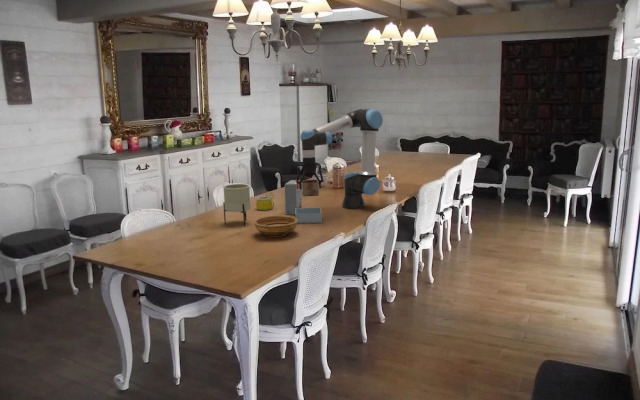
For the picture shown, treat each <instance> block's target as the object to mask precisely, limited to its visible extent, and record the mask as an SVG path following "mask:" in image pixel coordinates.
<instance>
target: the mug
mask: <svg viewBox="0 0 640 400" xmlns="http://www.w3.org/2000/svg"><path fill="white" fill-rule="evenodd" d="M274 197H275V195H274V193H273V192H272V191H268V192H267V193H266V196H264V195H263V196H258V197H257V198H256V202H255V203H256V204H255V206H256V209H257V210H258V211H268V210H271V209H273V208H275V202H274V200H273V198H274Z"/></svg>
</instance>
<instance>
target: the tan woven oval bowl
mask: <svg viewBox="0 0 640 400" xmlns="http://www.w3.org/2000/svg"><path fill="white" fill-rule="evenodd" d="M297 221H298V219H297V218H295V217H294V216H289V215H268V216H263V217H259V218H256V219H255V220H254V221H253V224H254V226H255V229H256V230H257V231H258V232H260V233H262V234H264V235H266V236H267V237H270V238H281V237H284V236H286V235H287V234H288V233H290V232H293V230H295V229H296V227H297V225H298V224H297Z"/></svg>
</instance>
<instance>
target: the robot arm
mask: <svg viewBox="0 0 640 400" xmlns="http://www.w3.org/2000/svg"><path fill="white" fill-rule="evenodd" d="M383 118H384V117H383V115H382V113H381V111H379V110H378V109H372V108H370V109H369V108H367V109H366V108H365V109H363V108H360V109H355V110H353V111H351V112H348V113H346V114H343V115H342V117H340V118H338V119H335V120H333V121H330V122H328V123H326V124H322V125H321V126H317V127H316V128H313V129H307V130H302V132H301V133H300V135H299V136H300V138H299V139H300V141H301V148H302V149H301V152H302V154H301V155H302V166H299V165H298V166H297V174H296V179H295V180H296V183H298V184H299V189H301V192H302V196H303V184H302V181H303V180H304V178H305V176H306V174H307V173H312V174H313V175H314V176H315V178H316V180H317V181H318V195H319V194H320V189H321V188H322V183H323V182H324V178H323V173H322V167H321V165H320V164H319V165H317V164H316V157H315V156H316V146H326V145H330V144H331V143H332V141H333V136H332V135H334V134H337V133H339V132H341V131H344V130H346V129H348V130H351V129H352V128H353V129H354V128H359V131H360V132H361V135H362V137H361V138H362V139H361V157H360V158H361V161H360V171H353V172H347V173H345V174H344V178H343V180H344V181H343V182H344V196H343V200H342V205H341V207H342V208H344V209H350V210H355V209H356V210H357V209H362V208H365V207H366V203H365V199H364V198H363V197H364V196H363V195H366V196H372V195H375V194H376V193H377V192H378V191H379V190H380V187H381V186H380V184H381V183H380V180H379V179H378V178H377V172H376V171H375V164H376V163H375V161H376V144H377V143H376V139H377V133H379V129H380V128H381V127H382V125H383V123H384V119H383ZM316 169H317V170H318V174H319V176H318V175H317V173H316V171H315V170H316ZM302 170H303V172H302V176H301V177H300V175H301V171H302ZM319 177H320V178H319ZM299 180H300V181H299Z"/></svg>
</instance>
